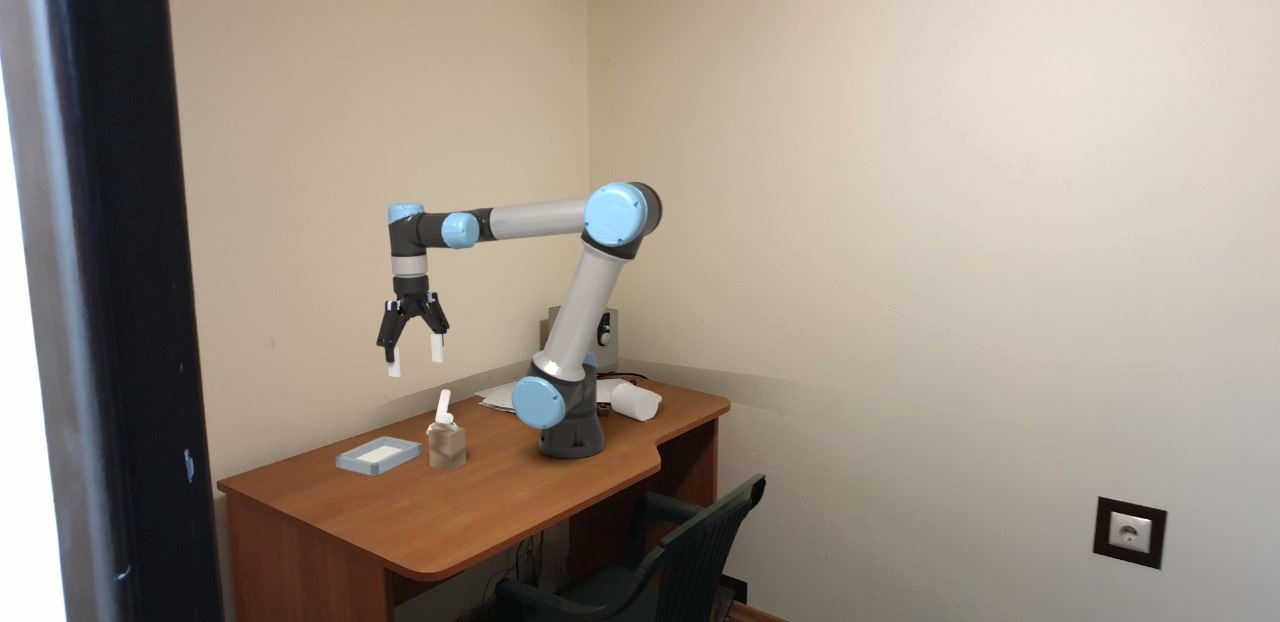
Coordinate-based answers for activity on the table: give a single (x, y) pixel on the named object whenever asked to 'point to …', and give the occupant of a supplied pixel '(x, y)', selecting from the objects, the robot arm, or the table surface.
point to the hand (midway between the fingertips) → (417, 369)
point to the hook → (443, 410)
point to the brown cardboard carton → (447, 446)
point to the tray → (378, 455)
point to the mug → (635, 401)
